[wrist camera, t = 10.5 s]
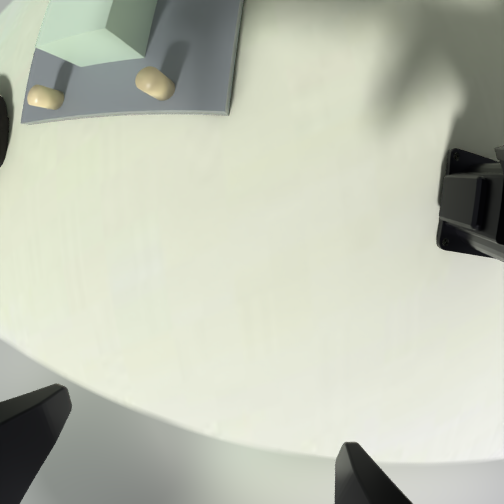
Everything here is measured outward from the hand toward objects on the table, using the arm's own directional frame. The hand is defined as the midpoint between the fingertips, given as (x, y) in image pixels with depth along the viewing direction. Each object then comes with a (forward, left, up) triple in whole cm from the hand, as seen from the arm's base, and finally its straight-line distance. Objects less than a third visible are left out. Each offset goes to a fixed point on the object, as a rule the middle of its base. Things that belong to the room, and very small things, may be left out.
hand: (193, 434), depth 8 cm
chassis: (+10, -18, -12) cm, 24 cm away
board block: (+10, -18, -11) cm, 23 cm away
